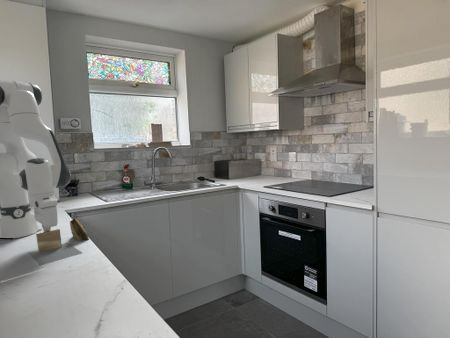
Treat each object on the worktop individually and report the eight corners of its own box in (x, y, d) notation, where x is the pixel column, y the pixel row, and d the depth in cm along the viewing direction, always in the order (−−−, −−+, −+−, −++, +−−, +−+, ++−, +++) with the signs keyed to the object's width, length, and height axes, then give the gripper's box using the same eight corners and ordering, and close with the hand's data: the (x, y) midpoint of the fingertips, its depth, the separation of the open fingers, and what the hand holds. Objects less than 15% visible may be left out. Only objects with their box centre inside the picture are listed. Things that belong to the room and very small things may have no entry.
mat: (28, 253, 122) (28, 252, 122) (67, 243, 131) (67, 242, 131) (40, 266, 108) (40, 265, 108) (82, 254, 117) (82, 252, 117)
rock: (66, 232, 140) (60, 235, 130) (77, 215, 141) (72, 217, 132) (88, 244, 142) (84, 248, 132) (99, 227, 143) (96, 230, 134)
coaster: (38, 251, 122) (36, 234, 122) (60, 245, 128) (58, 228, 127) (39, 252, 121) (36, 234, 120) (62, 246, 126) (59, 229, 126)
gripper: (27, 199, 130) (32, 232, 131) (39, 204, 115) (45, 241, 116) (44, 196, 134) (49, 228, 135) (58, 201, 119) (63, 237, 120)
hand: (47, 234), depth 126 cm, fingers closed
